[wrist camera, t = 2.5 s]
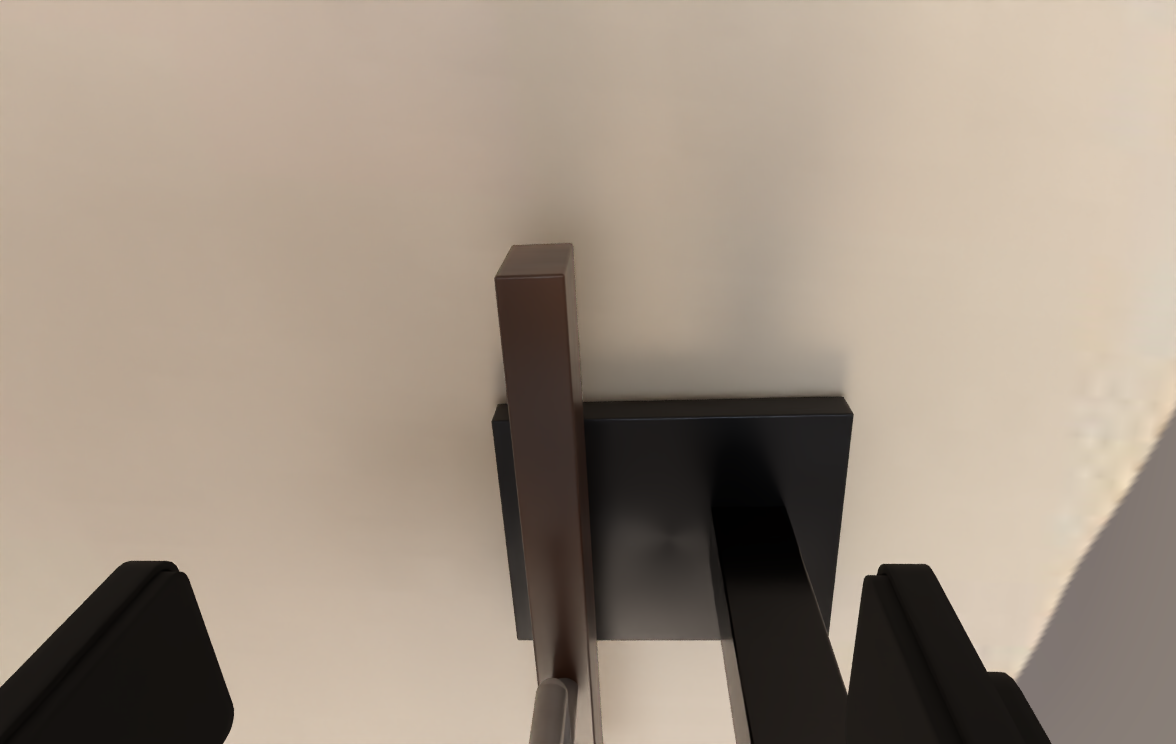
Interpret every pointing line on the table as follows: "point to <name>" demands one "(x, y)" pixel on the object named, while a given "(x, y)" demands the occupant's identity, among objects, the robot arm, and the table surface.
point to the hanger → (552, 485)
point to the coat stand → (716, 543)
